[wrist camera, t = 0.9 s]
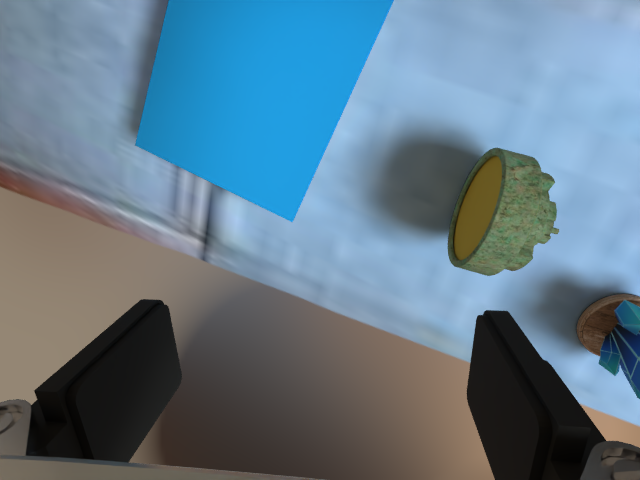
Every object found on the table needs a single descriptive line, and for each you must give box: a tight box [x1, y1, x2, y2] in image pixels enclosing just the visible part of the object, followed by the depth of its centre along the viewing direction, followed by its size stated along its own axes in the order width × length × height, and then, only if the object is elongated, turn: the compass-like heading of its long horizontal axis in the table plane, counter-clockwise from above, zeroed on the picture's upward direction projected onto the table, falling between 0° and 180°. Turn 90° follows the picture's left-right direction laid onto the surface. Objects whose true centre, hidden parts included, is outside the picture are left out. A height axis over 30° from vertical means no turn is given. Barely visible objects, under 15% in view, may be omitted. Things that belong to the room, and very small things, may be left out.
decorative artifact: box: [448, 148, 559, 276], centre depth 29 cm, size 10×7×10 cm
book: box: [135, 0, 394, 222], centre depth 31 cm, size 17×4×25 cm
